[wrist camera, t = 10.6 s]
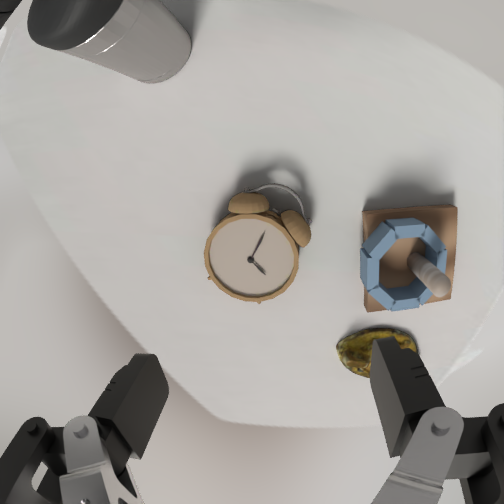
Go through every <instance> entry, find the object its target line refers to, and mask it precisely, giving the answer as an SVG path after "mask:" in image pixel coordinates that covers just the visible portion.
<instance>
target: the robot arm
mask: <svg viewBox="0 0 504 504" xmlns="http://www.w3.org/2000/svg"><path fill="white" fill-rule="evenodd" d="M21 1H22V0H0V29H1V28H2V27H3V25H4V24H5V22H6V21H7V19H8V18H9V17H10V15H11V14H12V13H13V11H14V10H15V8H17V6H18V5H19V4H20V2H21ZM27 25H28V32H29V35H30V37H31V38H32V39H33V40H34V41H35V42H36V43H37V44H39V45H41V46H44V47H47V48H51V49H54V50H57V51H60V52H64V53H67V54H70V55H73V56H76V57H79V58H82V59H85V60H87V61H90V62H93V63H96V64H98V65H101V66H104V67H106V68H109V69H112V70H114V71H117V72H119V73H122V74H124V75H126V76H129V77H131V78H134V79H136V80H138V81H141V82H144V83H158V82H162V81H164V80H167V79H169V78H170V77H172V76H174V75H175V74H176V73H177V72H179V71H180V70H181V68H182V67H183V66H184V65H185V63H186V61H187V60H188V58H189V55H190V52H191V39H190V36H189V34H188V33H187V31H186V30H185V29H184V28H183V27H182V26H181V25H180V23H179V22H178V21H177V18H176V17H175V16H174V15H173V14H172V13H171V12H170V11H169V10H168V9H167V8H166V7H165V6H164V4H163V3H162V2H161V1H160V0H33V2H32V4H31V7H30V10H29V14H28V21H27ZM370 383H371V388H372V392H373V395H374V399H375V402H376V406H377V409H378V413H379V416H380V420H381V424H382V427H383V431H384V435H385V439H386V443H387V447H388V450H389V455H390V458H392V457H395V456H400V458H401V459H400V460H399V462H398V464H397V466H396V468H395V469H394V471H393V472H392V473H391V474H390V476H389V477H388V479H387V480H386V482H385V483H384V485H383V486H382V488H381V490H380V491H379V493H378V494H377V496H376V497H375V499H374V500H373V502H372V503H371V504H437V503H438V501H439V498H440V496H441V494H442V491H443V487H442V485H443V482H444V480H445V479H460V483H461V487H462V491H463V495H464V499H465V504H504V403H503V404H499V405H497V406H495V407H494V408H493V409H492V410H491V412H490V413H489V415H488V416H487V417H475V418H464V417H461V415H460V414H459V413H458V412H457V411H455V410H454V409H451V408H448V407H446V406H445V405H444V403H443V400H442V398H441V396H440V394H439V392H438V390H437V388H436V386H435V384H434V382H433V381H432V379H431V377H430V376H429V373H428V371H427V369H426V367H424V363H423V362H422V360H421V358H420V356H419V355H418V354H417V353H415V352H414V351H413V350H412V349H410V348H404V349H401V348H400V346H399V344H398V342H397V340H396V338H395V337H394V336H392V337H387V338H381V339H375V340H374V341H373V345H372V356H371V366H370ZM168 394H169V387H168V382H167V380H166V378H165V375H164V373H163V370H162V368H161V366H160V363H159V361H158V358H157V356H156V355H155V354H135V355H134V356H133V358H132V359H131V361H130V362H129V364H128V365H125V366H124V367H123V368H122V369H120V370H119V371H118V372H117V373H115V375H114V376H113V378H112V379H111V381H110V384H108V385H107V387H106V388H105V391H103V393H102V394H101V396H100V397H99V399H98V400H97V402H96V403H95V405H94V406H93V408H92V410H91V411H90V413H89V414H88V416H78V417H75V418H74V419H72V420H70V421H69V422H68V423H67V424H66V426H65V427H50V426H49V425H48V423H47V422H46V420H45V419H43V418H41V417H33V418H31V419H29V420H27V421H26V422H25V423H24V424H23V425H22V426H21V428H20V429H19V431H18V432H17V434H16V435H15V437H14V438H13V440H12V441H11V443H10V444H9V446H8V447H7V449H6V450H5V452H4V453H3V455H2V456H1V458H0V504H144V502H143V500H142V498H141V495H140V493H139V490H138V488H137V485H136V483H135V480H134V478H133V475H132V472H131V469H130V467H129V465H128V464H127V461H128V459H129V457H130V458H135V459H141V458H142V456H143V453H144V451H145V449H146V446H147V444H148V442H149V439H150V437H151V434H152V432H153V429H154V428H155V425H156V423H157V421H158V419H159V416H160V414H161V412H162V409H163V407H164V405H165V402H166V400H167V398H168ZM41 461H42V462H43V463H44V464H45V465H46V466H47V467H48V470H47V472H46V474H45V475H44V477H43V480H42V481H41V483H40V485H39V487H38V489H37V491H35V490H34V489H33V487H32V484H31V480H32V477H33V475H34V474H35V472H36V470H37V468H38V466H39V465H40V463H41Z"/></svg>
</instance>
